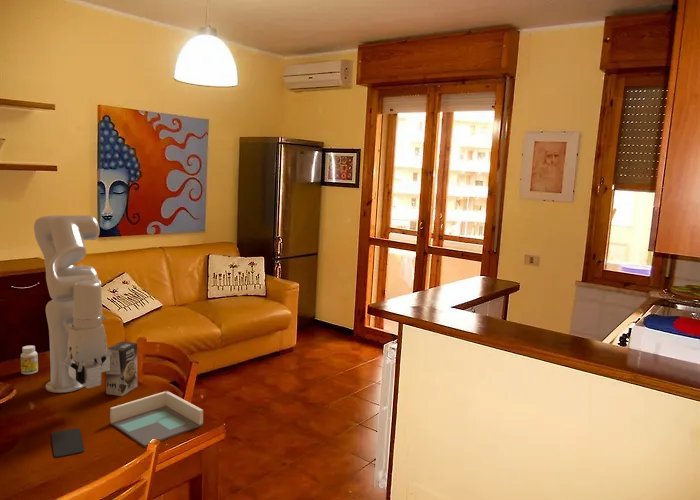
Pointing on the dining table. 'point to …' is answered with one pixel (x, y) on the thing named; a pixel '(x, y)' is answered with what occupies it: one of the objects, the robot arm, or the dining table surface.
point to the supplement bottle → (29, 360)
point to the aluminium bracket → (91, 372)
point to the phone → (67, 442)
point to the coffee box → (122, 369)
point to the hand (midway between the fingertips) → (88, 380)
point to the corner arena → (156, 417)
